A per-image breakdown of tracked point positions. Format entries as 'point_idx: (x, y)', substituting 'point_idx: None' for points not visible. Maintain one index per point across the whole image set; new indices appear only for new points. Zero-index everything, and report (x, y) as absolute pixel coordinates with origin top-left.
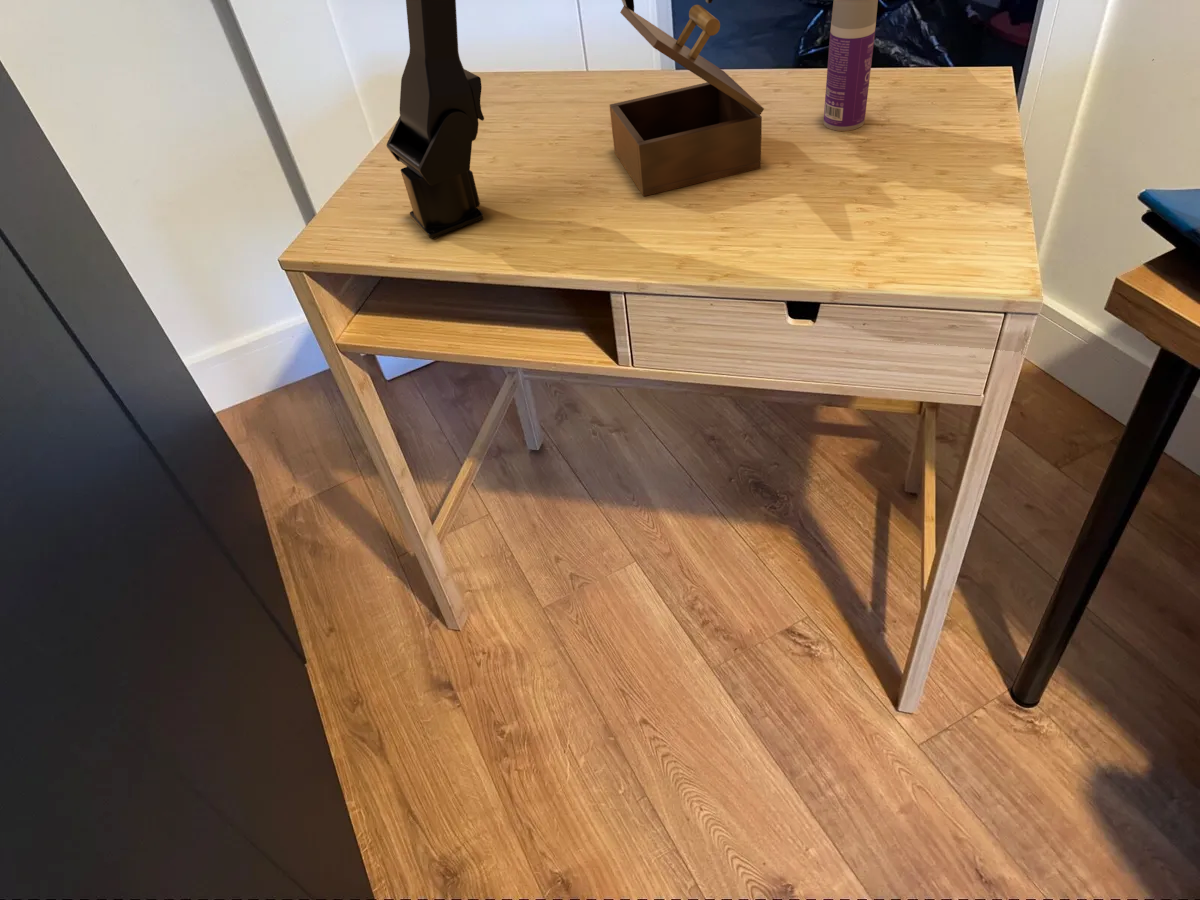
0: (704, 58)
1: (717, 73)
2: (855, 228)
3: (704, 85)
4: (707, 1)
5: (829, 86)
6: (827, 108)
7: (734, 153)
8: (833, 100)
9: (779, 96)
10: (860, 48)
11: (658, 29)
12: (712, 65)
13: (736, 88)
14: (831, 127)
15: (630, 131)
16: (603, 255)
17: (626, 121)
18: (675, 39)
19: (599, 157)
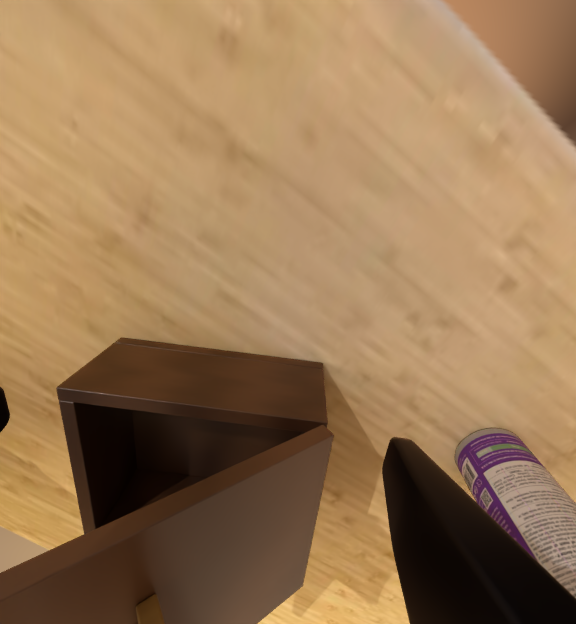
0: (280, 463)
1: (240, 587)
2: (315, 607)
3: (277, 428)
4: (386, 464)
5: (490, 513)
6: (469, 476)
7: None
8: (477, 502)
9: (490, 312)
10: None
11: (71, 604)
12: (281, 493)
13: (263, 599)
14: (456, 463)
15: (79, 501)
16: (65, 531)
17: (79, 468)
18: (172, 520)
19: (93, 334)
